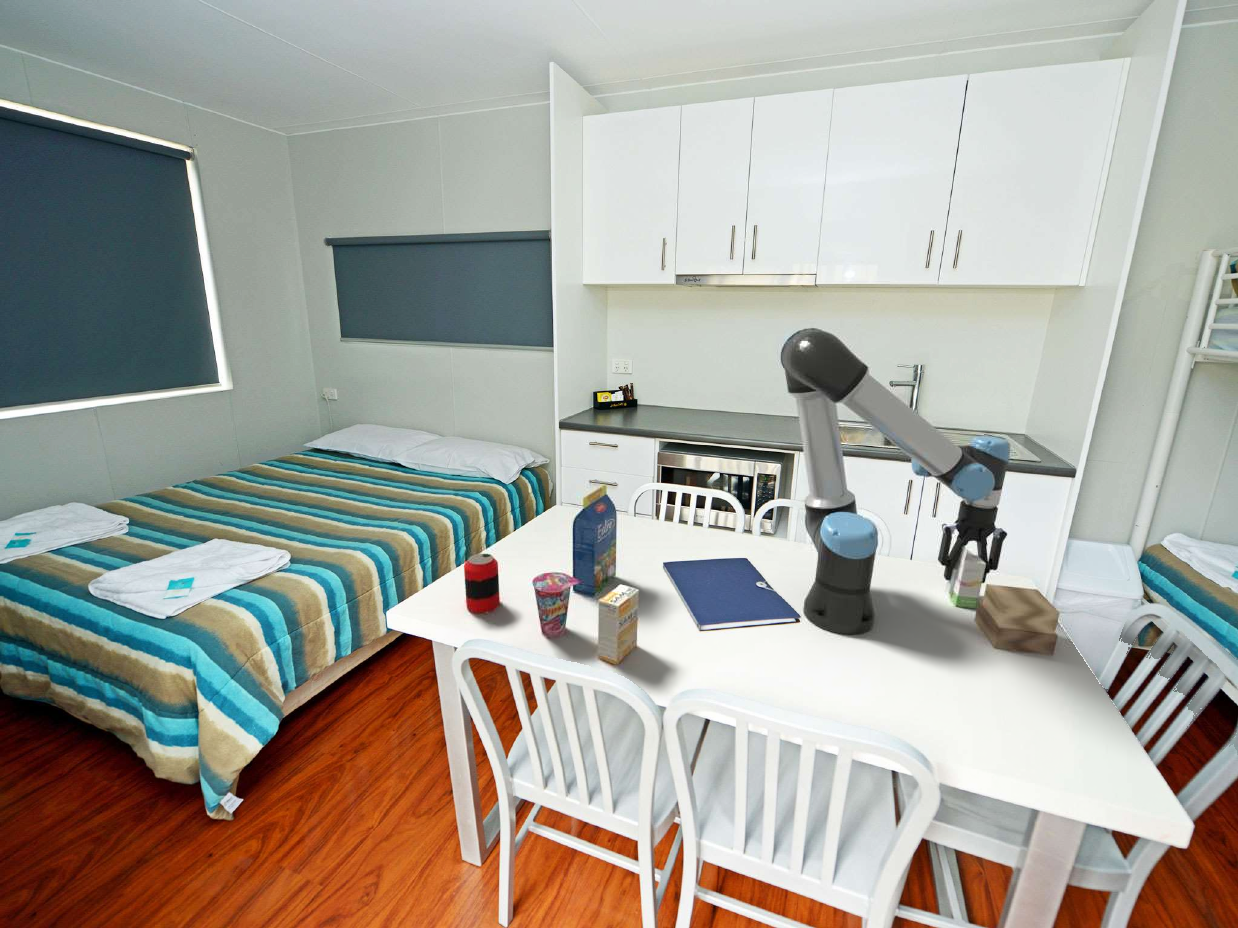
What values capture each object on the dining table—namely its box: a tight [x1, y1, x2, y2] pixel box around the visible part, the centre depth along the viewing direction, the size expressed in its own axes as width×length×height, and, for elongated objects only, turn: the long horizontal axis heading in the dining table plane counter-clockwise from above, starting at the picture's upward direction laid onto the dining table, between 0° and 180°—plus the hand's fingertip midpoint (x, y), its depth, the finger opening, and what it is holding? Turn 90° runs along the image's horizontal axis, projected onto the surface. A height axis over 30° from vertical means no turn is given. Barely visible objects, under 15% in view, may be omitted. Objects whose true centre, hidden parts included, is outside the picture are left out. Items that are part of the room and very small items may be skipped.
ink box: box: [944, 536, 986, 609], centre depth 138 cm, size 9×5×15 cm, turn 168°
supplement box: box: [597, 584, 640, 665], centre depth 116 cm, size 8×5×13 cm, turn 148°
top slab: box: [981, 583, 1061, 634], centre depth 123 cm, size 10×10×5 cm
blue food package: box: [572, 483, 618, 597], centre depth 141 cm, size 6×12×25 cm, turn 155°
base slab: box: [973, 602, 1059, 657], centre depth 124 cm, size 11×11×5 cm
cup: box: [531, 571, 579, 639], centre depth 123 cm, size 9×8×12 cm
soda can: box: [463, 553, 501, 615], centre depth 132 cm, size 8×8×12 cm
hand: (961, 592), depth 140 cm, fingers closed on ink box, 5 cm apart
